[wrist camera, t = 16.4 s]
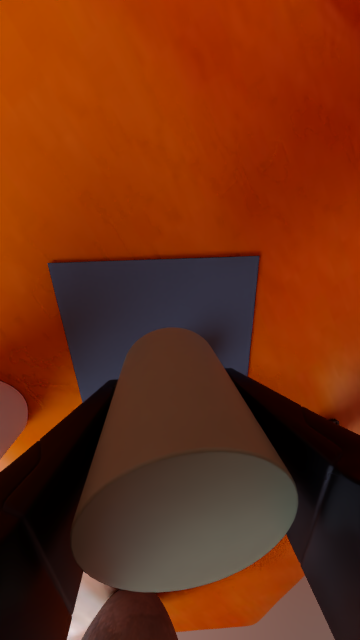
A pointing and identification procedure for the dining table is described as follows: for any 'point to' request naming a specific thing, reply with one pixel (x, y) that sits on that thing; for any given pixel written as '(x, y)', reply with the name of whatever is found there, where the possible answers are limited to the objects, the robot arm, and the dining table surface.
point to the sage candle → (179, 475)
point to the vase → (131, 618)
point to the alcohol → (11, 416)
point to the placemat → (153, 309)
